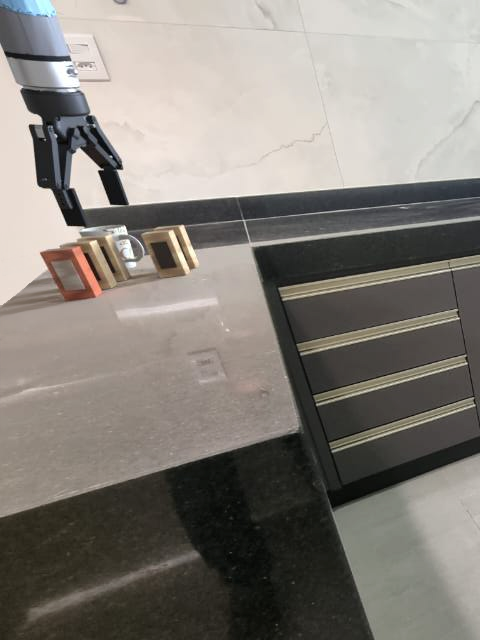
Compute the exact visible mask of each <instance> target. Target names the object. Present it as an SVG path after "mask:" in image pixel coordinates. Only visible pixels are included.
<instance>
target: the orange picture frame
mask: <svg viewBox="0 0 480 640" xmlns="http://www.w3.org/2000/svg"><path fill="white" fill-rule="evenodd" d="M39 255H40V256H41V258H42V260H43V262H44V263H45V266H46V268H47V269H48V271H49V273H50V275H51V277H52V279H53V281H54V283H55V284H56V286H57V289H58V290H59V292H60V294H61V296H62V298H63V300H64V301H65V302H70V301H77V300H85V299H93V298H94V299H95V298H97V297H99V296H101V295H102V294H103V293H104V292H103V289H102V290H101V288H100V286H99V284H98V282H97V280H96V278H95V276H94V274H93V272H92V270H91V268H90V266H89V264H88V262H87V260H86V258H85V256H84V254H83V252H82V250H81V248H80V246H77V247H67V248H60V247H57V248H48V249H45V250H42V251H40V252H39Z"/></svg>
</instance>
